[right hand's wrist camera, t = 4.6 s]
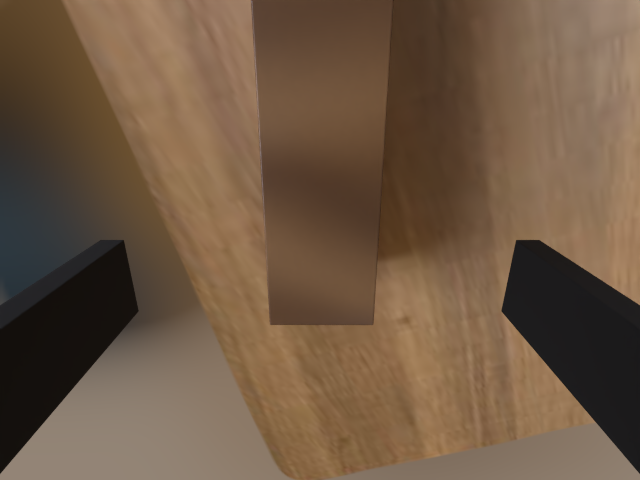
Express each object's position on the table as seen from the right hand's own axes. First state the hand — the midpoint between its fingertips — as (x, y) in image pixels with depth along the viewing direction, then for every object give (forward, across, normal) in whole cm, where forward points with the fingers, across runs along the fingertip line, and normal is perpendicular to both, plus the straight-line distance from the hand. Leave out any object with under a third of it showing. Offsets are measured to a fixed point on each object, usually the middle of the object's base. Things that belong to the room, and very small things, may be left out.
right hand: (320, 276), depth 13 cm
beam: (+13, 0, -25) cm, 28 cm away
